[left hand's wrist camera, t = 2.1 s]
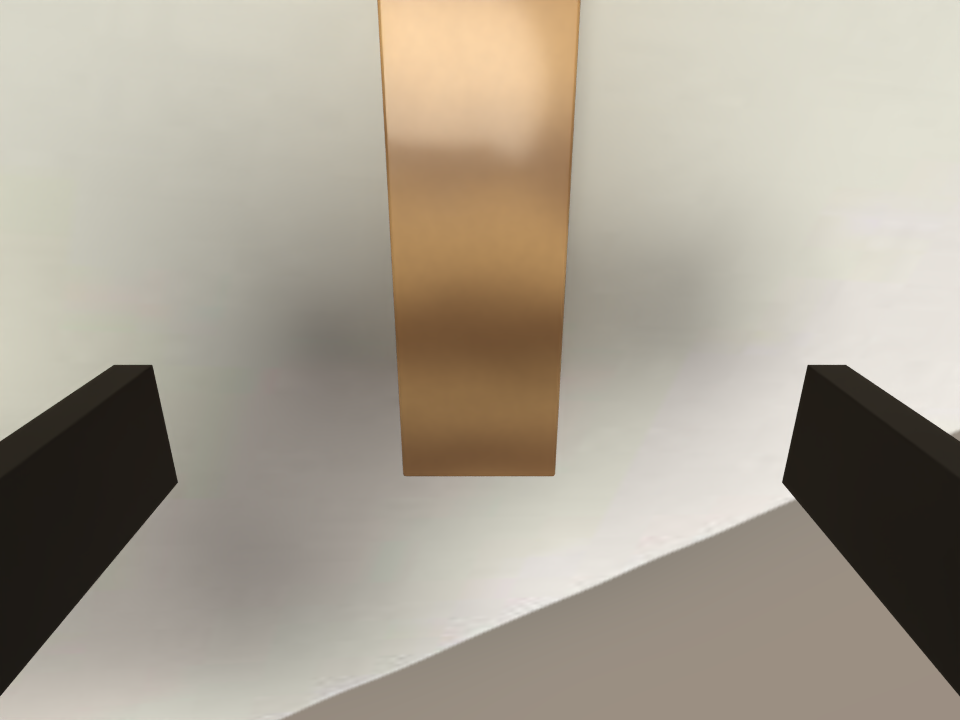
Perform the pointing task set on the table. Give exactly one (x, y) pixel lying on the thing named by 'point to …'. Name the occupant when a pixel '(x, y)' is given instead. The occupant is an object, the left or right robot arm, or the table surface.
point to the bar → (479, 226)
